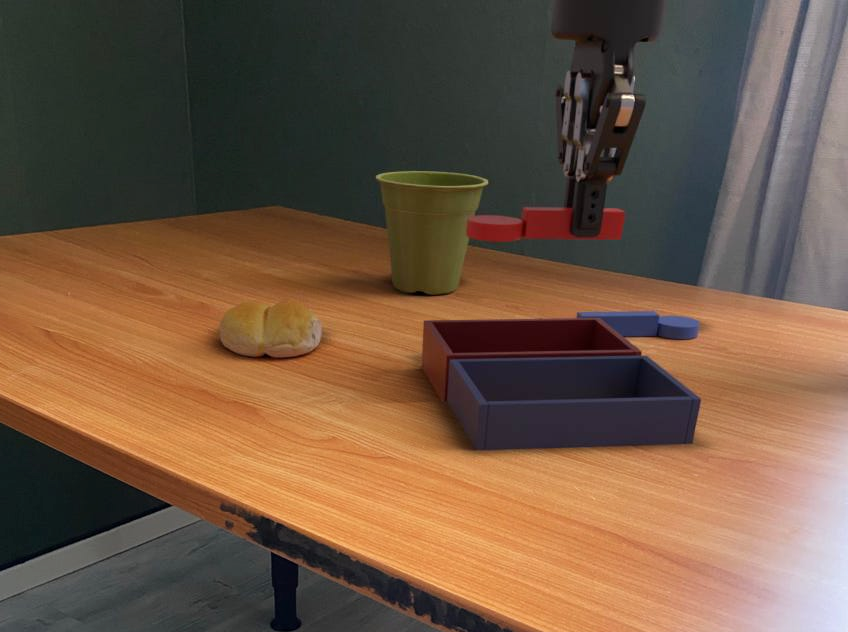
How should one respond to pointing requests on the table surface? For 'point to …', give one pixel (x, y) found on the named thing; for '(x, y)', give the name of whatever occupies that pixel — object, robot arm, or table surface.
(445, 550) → the table surface
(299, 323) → the bread roll
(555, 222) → the spoon red
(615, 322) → the spoon blue
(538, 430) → the blue bin
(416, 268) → the plant pot
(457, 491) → the table surface
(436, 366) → the red bin
